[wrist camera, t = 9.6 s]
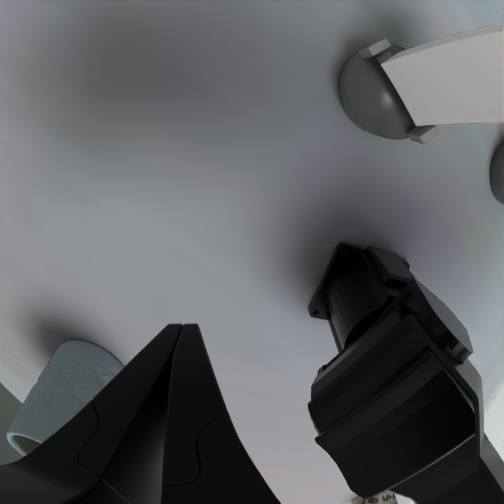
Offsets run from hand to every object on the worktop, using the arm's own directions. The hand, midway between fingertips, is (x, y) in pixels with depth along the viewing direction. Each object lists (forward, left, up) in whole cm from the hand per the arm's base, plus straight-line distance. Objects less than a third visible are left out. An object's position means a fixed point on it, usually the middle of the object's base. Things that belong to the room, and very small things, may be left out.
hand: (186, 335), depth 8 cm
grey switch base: (+10, -8, -13) cm, 18 cm away
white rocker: (+10, -8, -11) cm, 17 cm away
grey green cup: (-21, +9, -13) cm, 26 cm away
